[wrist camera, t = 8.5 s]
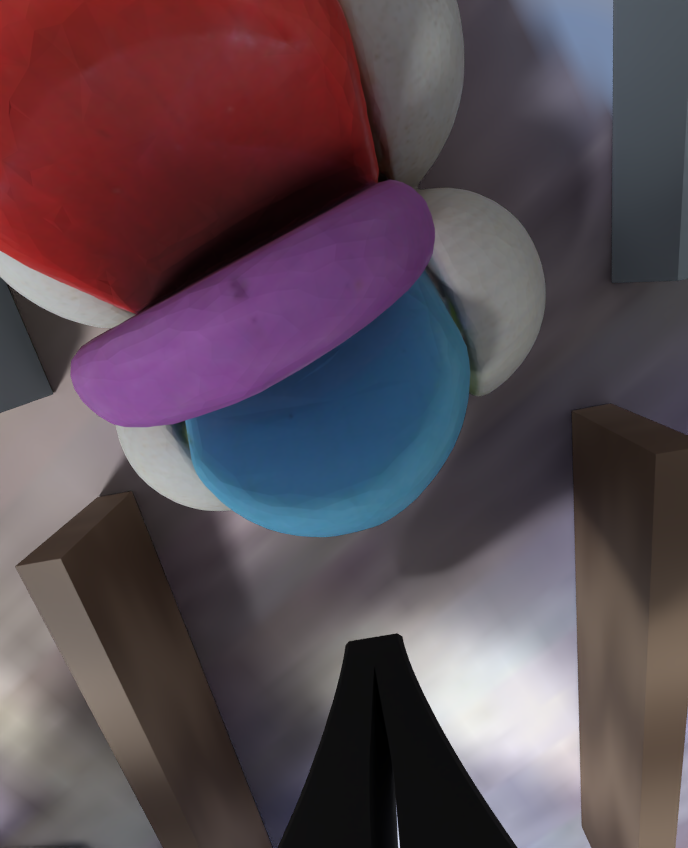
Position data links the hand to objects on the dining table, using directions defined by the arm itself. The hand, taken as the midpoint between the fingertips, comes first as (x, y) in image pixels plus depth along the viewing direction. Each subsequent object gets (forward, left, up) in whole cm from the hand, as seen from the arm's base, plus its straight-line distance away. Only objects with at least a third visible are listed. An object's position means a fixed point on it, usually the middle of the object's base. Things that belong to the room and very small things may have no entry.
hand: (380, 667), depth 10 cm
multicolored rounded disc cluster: (+10, 0, -3) cm, 10 cm away
